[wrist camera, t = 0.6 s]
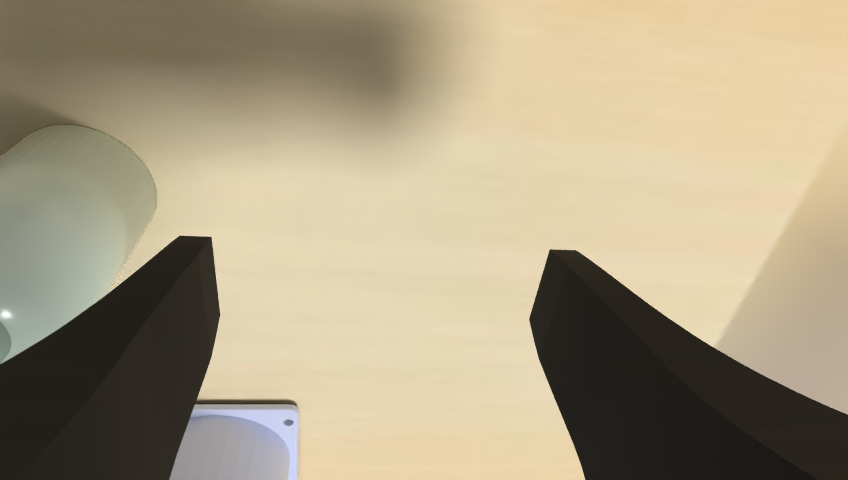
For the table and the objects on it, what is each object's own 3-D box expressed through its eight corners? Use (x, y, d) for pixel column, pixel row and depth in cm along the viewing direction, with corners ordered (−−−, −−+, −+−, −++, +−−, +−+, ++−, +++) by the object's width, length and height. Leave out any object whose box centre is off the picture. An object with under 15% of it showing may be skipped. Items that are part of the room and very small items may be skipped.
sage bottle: (164, 245, 22) (22, 519, 13) (30, 238, 21) (-231, 527, 12) (147, 130, 19) (-51, 368, 10) (-8, 118, 19) (-386, 365, 9)
